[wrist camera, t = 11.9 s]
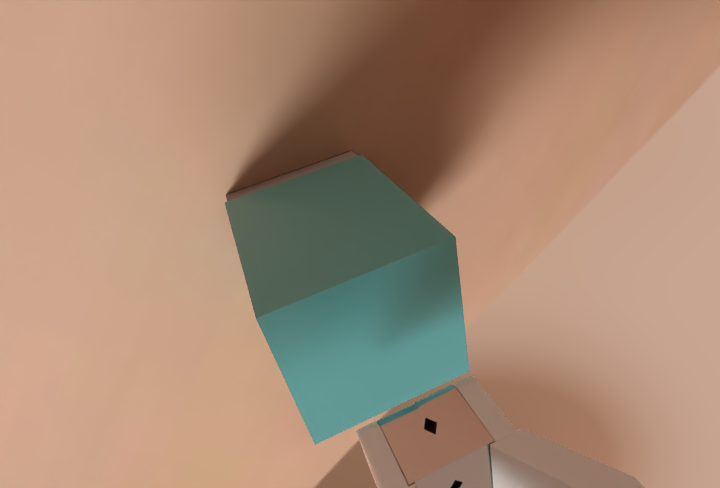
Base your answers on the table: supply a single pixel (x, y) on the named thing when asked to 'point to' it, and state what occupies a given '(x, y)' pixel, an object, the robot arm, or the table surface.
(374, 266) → the teal rectangular block
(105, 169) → the table surface
